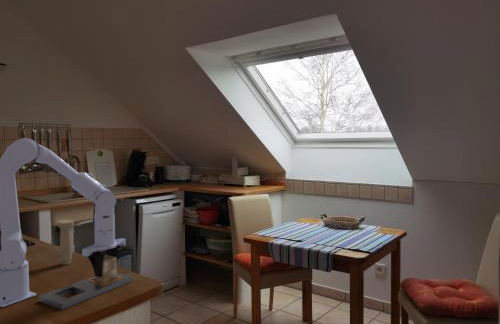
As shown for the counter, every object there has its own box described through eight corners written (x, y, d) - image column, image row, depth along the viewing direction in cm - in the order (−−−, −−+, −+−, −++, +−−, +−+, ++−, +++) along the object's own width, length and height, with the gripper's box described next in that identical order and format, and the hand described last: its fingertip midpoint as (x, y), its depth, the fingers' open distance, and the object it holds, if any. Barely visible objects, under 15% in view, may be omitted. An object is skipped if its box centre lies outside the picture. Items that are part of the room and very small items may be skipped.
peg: (104, 286, 119) (104, 261, 118) (94, 283, 121) (94, 258, 121) (116, 281, 123) (116, 257, 122) (106, 278, 125) (106, 254, 125)
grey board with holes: (62, 309, 104) (62, 303, 104) (38, 301, 109) (38, 295, 109) (132, 281, 125) (132, 275, 125) (110, 275, 130) (109, 270, 130)
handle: (71, 260, 145) (70, 218, 144) (76, 264, 140) (75, 222, 139) (56, 262, 142) (55, 220, 141) (61, 267, 137) (60, 223, 136)
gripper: (93, 236, 113) (94, 283, 114) (132, 226, 125) (133, 269, 126) (77, 232, 116) (77, 279, 117) (116, 223, 129) (117, 265, 130)
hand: (105, 273), depth 122 cm, fingers closed on peg, 4 cm apart
